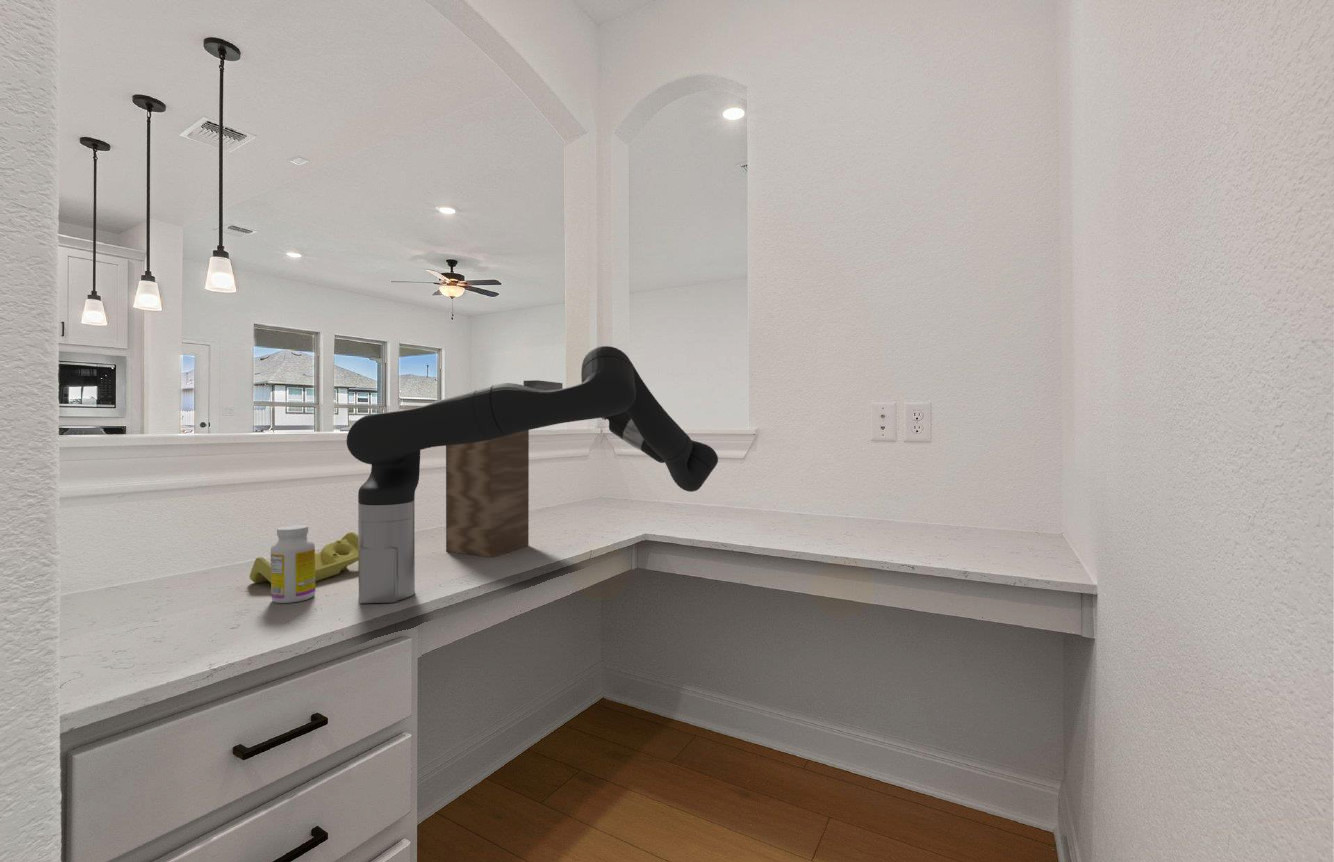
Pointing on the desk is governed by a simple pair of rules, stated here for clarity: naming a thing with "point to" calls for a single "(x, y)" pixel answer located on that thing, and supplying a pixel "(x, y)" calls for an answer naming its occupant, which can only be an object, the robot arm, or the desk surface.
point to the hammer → (543, 385)
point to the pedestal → (488, 496)
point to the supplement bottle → (292, 565)
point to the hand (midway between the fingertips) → (577, 389)
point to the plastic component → (318, 560)
